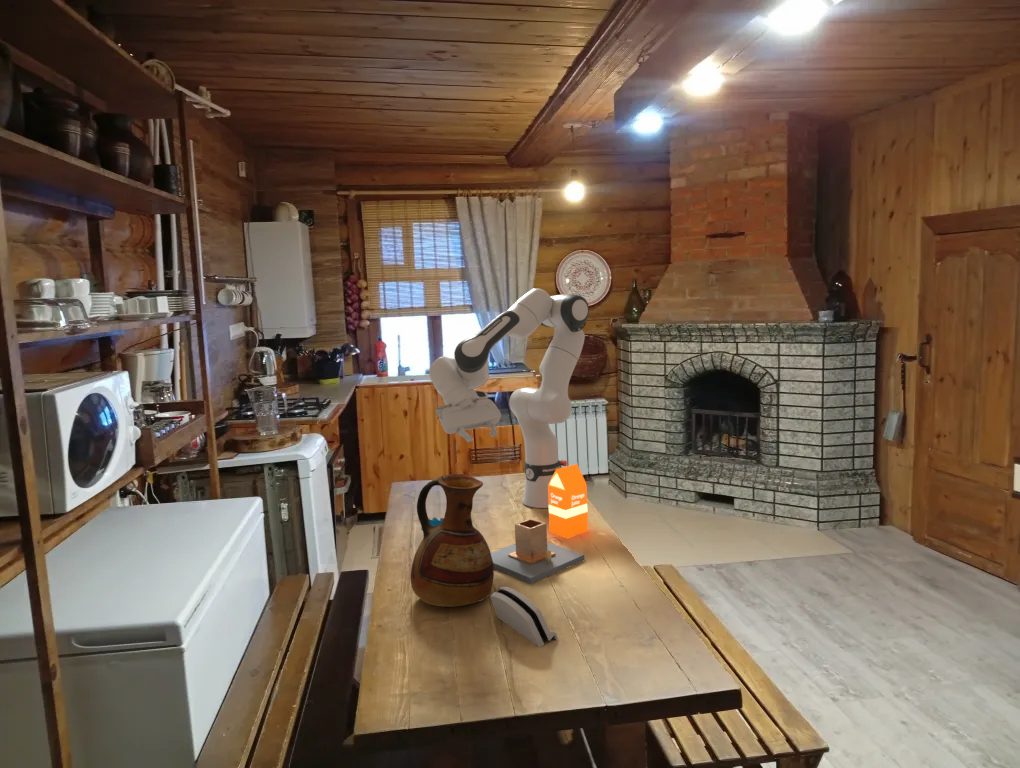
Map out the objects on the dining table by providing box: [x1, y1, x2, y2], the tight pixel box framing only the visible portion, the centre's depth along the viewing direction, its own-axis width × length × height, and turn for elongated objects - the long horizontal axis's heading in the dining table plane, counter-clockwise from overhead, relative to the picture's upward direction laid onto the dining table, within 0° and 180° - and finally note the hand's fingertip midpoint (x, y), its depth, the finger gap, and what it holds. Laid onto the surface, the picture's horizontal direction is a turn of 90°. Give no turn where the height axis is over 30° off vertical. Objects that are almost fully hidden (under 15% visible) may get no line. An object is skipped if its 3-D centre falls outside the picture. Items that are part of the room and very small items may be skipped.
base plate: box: [490, 541, 586, 584], centre depth 187 cm, size 20×20×6 cm
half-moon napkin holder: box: [489, 586, 559, 648], centre depth 150 cm, size 17×5×10 cm, turn 33°
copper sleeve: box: [508, 518, 556, 565], centre depth 186 cm, size 9×9×9 cm
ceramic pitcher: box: [410, 473, 495, 607], centre depth 165 cm, size 20×20×30 cm
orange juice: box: [548, 463, 589, 539], centre depth 207 cm, size 8×9×20 cm
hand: (483, 438), depth 206 cm, fingers open, 8 cm apart
